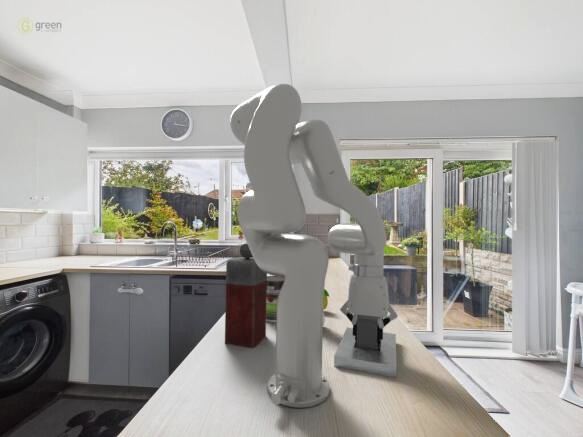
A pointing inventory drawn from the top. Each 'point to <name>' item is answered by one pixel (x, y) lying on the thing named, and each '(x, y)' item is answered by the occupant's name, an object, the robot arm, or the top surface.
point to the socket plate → (367, 355)
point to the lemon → (325, 299)
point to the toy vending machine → (245, 301)
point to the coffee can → (273, 297)
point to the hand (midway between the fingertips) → (367, 339)
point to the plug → (367, 333)
